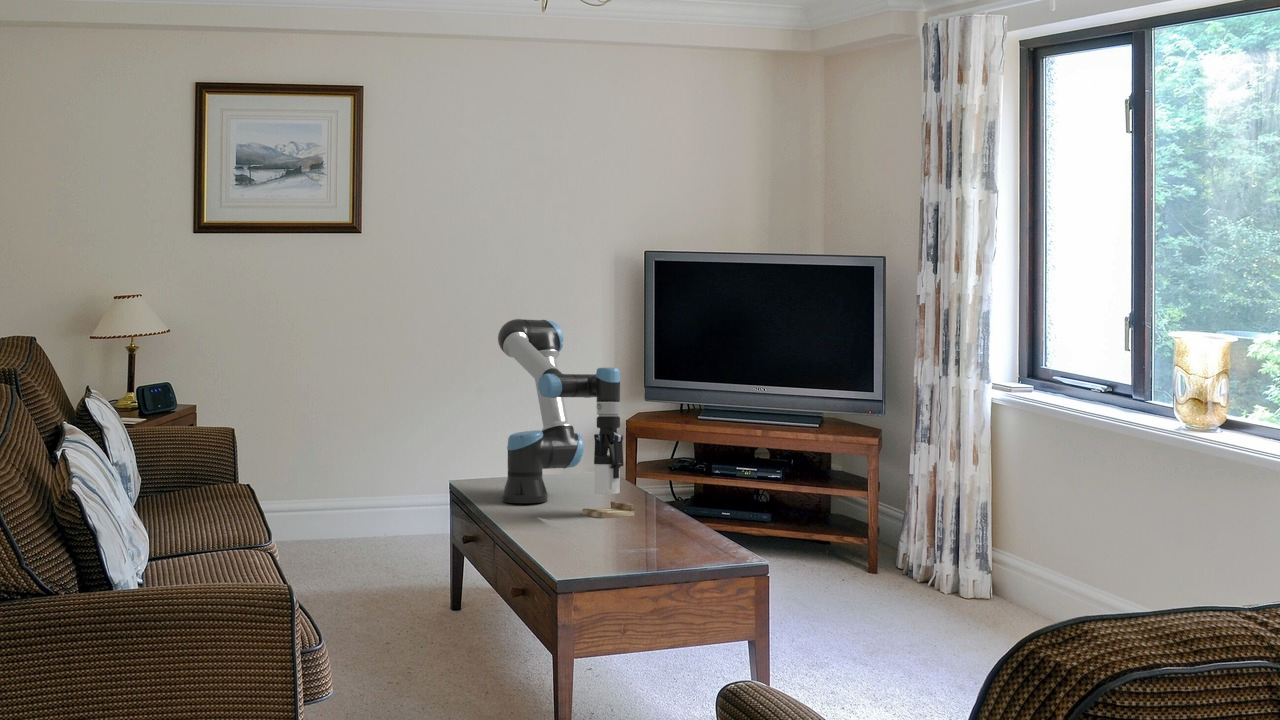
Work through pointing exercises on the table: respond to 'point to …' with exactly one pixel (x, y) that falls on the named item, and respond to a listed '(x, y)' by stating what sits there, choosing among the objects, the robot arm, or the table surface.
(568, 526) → the table surface
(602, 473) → the jar
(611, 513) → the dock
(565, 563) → the table surface
